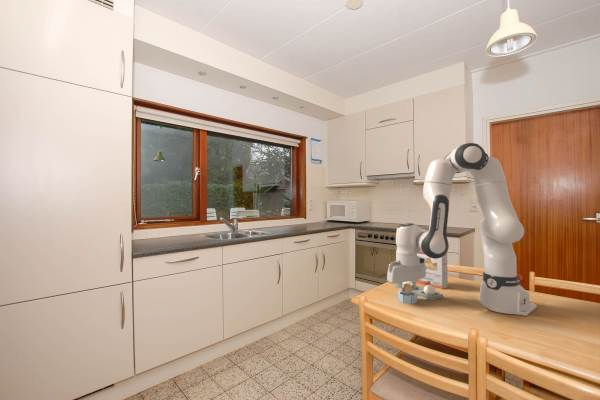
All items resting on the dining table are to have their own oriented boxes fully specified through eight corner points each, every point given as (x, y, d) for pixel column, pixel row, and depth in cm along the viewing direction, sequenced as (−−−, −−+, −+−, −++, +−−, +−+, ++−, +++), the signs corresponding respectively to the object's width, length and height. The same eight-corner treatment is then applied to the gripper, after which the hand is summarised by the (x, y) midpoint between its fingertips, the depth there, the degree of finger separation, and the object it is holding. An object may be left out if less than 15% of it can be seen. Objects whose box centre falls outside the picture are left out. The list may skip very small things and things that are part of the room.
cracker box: (415, 284, 146) (415, 245, 146) (421, 282, 150) (421, 244, 150) (442, 291, 135) (441, 249, 135) (448, 289, 139) (447, 248, 139)
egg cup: (406, 298, 127) (406, 289, 127) (421, 303, 120) (420, 294, 120) (393, 301, 123) (393, 292, 123) (407, 307, 116) (407, 297, 116)
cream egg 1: (407, 285, 141) (407, 276, 141) (415, 288, 137) (414, 278, 137) (400, 287, 139) (400, 277, 139) (407, 290, 135) (407, 280, 135)
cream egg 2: (428, 293, 129) (428, 283, 129) (437, 296, 125) (437, 286, 125) (421, 295, 127) (421, 284, 127) (430, 298, 123) (430, 287, 123)
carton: (407, 286, 143) (407, 282, 143) (443, 299, 124) (443, 294, 124) (395, 288, 140) (395, 284, 140) (430, 302, 121) (430, 297, 121)
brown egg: (406, 292, 125) (406, 281, 125) (415, 295, 120) (415, 284, 120) (398, 294, 123) (398, 282, 123) (406, 297, 118) (406, 286, 118)
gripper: (394, 263, 114) (394, 296, 114) (428, 258, 123) (428, 289, 123) (383, 260, 120) (383, 292, 120) (416, 256, 129) (417, 285, 129)
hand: (406, 290), depth 122 cm, fingers closed on brown egg, 5 cm apart
